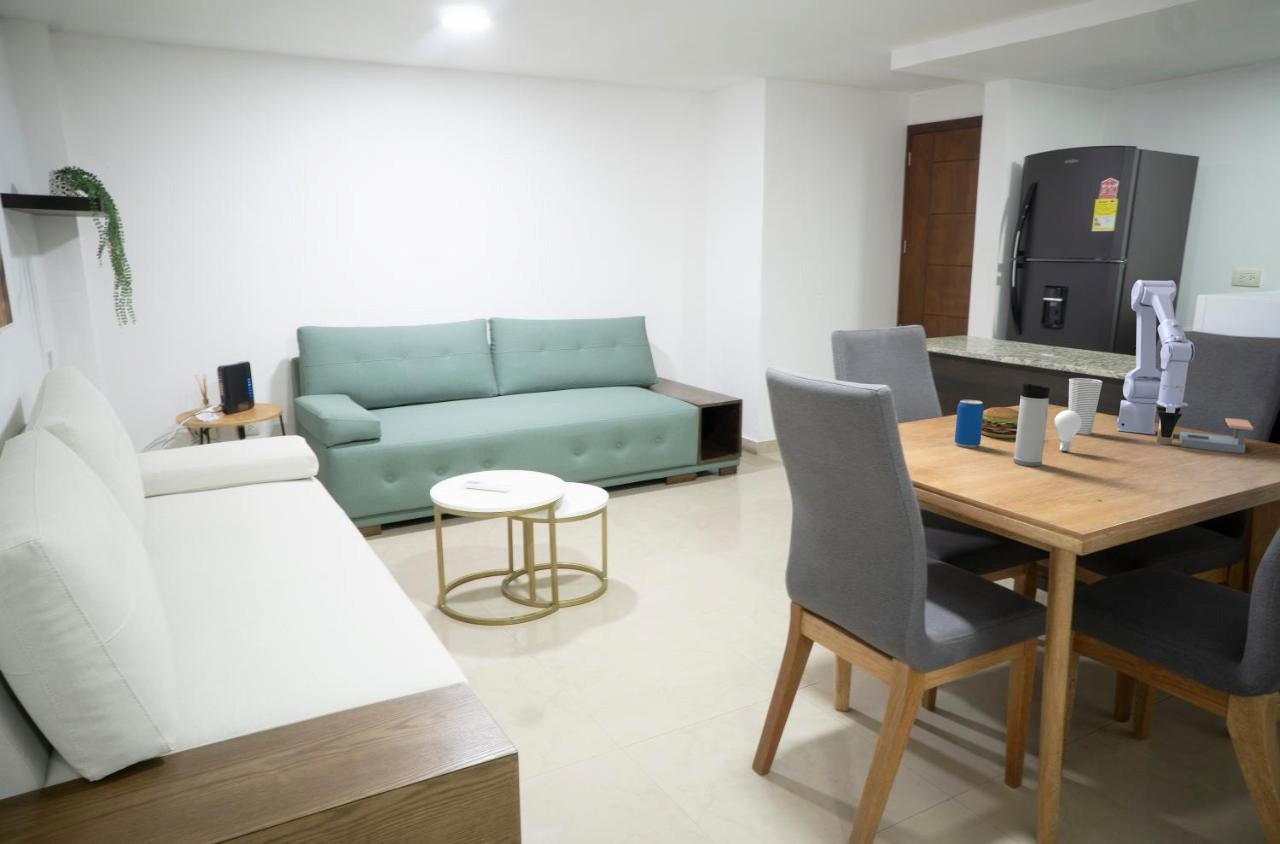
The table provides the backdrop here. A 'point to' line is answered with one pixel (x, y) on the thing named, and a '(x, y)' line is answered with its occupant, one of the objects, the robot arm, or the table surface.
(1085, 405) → the cup
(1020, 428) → the travel mug
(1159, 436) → the peg
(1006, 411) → the food
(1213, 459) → the table surface
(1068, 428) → the lightbulb
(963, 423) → the beverage can
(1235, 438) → the socket station
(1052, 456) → the table surface
